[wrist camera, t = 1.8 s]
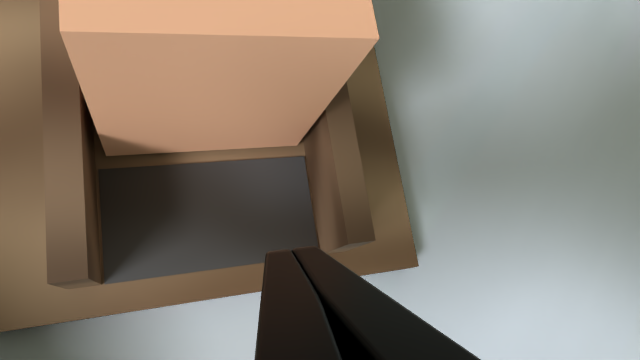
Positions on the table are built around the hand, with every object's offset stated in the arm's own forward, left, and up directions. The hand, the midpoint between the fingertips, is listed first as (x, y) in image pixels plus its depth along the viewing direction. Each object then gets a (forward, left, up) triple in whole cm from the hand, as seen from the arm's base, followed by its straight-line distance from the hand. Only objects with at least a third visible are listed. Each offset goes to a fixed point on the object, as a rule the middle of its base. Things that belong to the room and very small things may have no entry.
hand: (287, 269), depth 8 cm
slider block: (+7, -7, -10) cm, 13 cm away
